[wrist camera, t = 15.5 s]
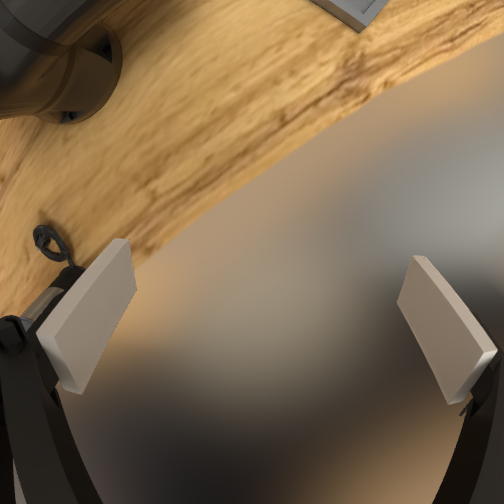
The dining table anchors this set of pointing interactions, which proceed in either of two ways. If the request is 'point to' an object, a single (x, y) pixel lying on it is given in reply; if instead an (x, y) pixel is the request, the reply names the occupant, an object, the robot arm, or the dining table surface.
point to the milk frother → (61, 282)
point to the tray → (353, 11)
